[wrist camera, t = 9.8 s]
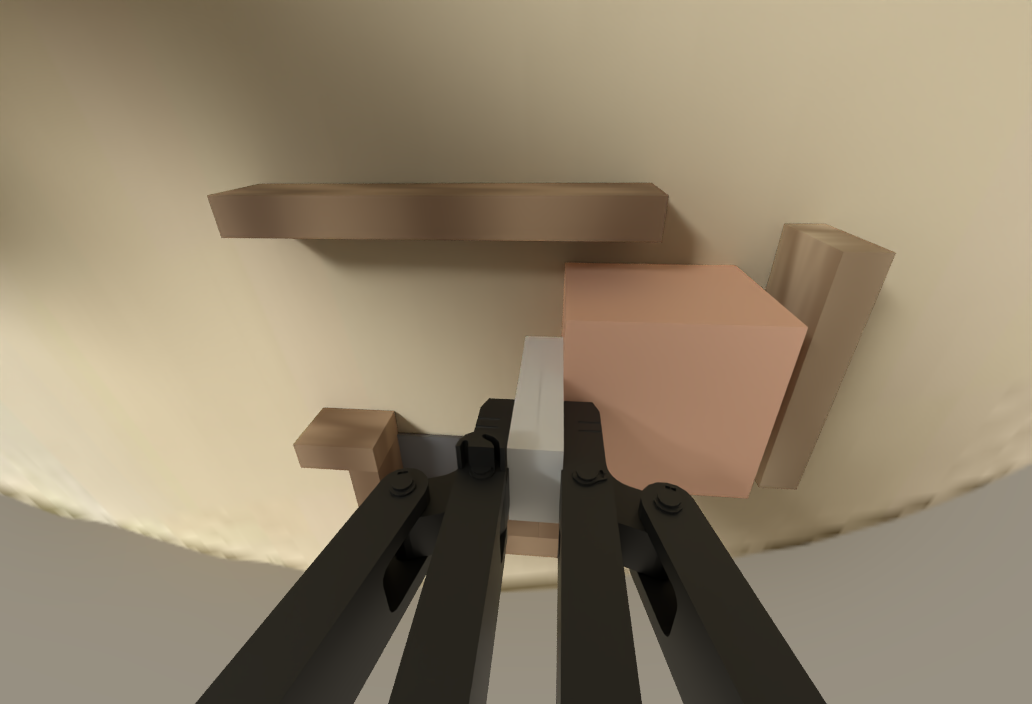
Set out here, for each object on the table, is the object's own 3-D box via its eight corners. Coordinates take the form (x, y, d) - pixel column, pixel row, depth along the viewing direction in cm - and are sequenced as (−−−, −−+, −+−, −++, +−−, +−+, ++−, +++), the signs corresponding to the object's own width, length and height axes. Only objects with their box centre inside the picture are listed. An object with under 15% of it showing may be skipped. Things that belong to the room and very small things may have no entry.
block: (558, 397, 22) (557, 486, 16) (565, 262, 18) (566, 320, 13) (701, 403, 21) (747, 498, 16) (735, 265, 18) (807, 327, 12)
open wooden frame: (349, 498, 27) (317, 555, 23) (259, 183, 18) (185, 200, 14) (726, 523, 25) (753, 590, 21) (839, 182, 16) (917, 201, 12)
